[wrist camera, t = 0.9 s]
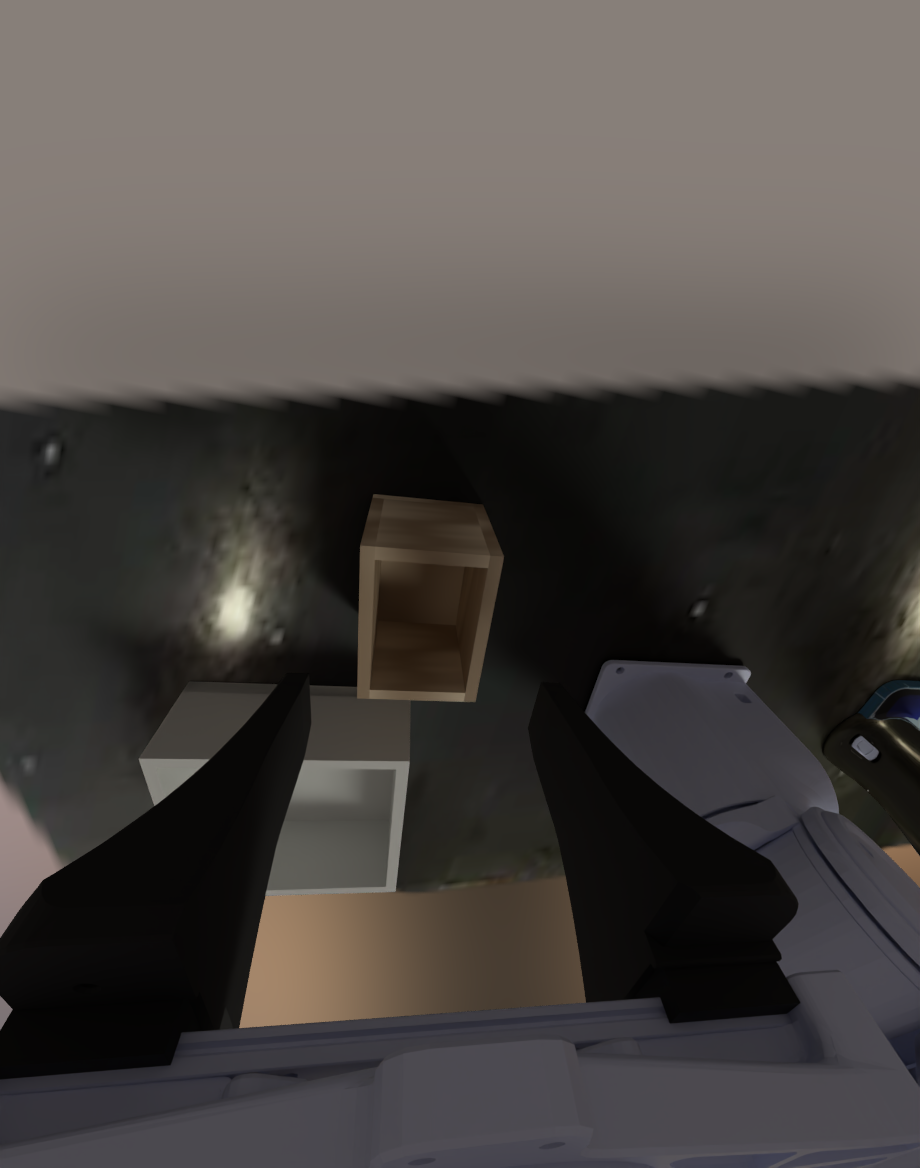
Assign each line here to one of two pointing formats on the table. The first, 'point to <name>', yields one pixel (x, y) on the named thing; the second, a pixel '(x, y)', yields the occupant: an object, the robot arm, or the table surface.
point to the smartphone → (894, 699)
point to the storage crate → (307, 780)
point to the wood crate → (425, 599)
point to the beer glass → (883, 763)
